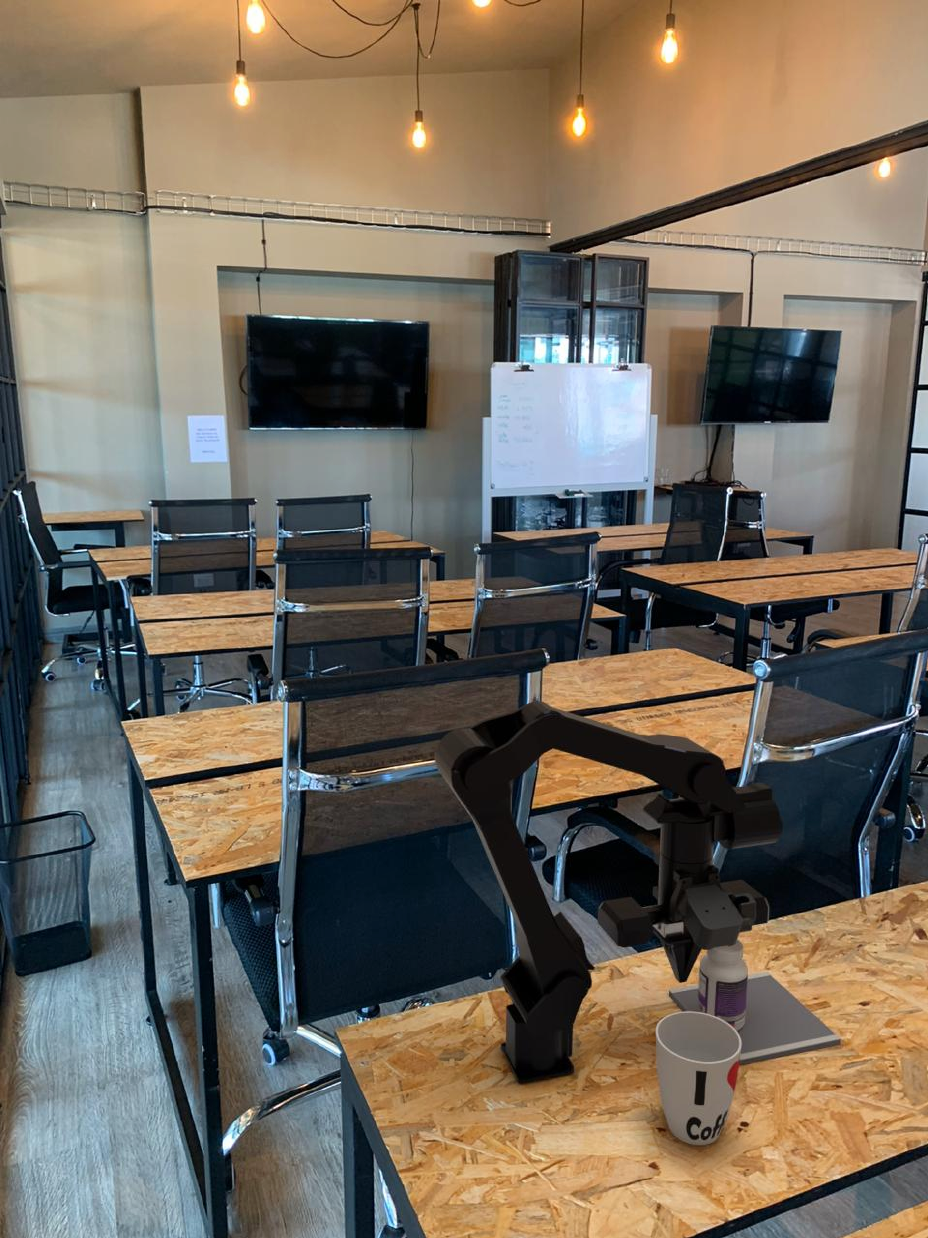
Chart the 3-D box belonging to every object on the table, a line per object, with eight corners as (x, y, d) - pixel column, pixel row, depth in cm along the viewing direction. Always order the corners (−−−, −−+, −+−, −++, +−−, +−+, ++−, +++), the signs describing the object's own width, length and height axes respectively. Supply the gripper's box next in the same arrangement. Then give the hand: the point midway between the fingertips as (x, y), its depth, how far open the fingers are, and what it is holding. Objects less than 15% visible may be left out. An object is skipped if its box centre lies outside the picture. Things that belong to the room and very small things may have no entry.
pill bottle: (752, 1018, 108) (757, 942, 106) (732, 1040, 104) (737, 962, 102) (709, 1000, 112) (713, 926, 110) (688, 1021, 108) (692, 945, 106)
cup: (684, 1167, 87) (689, 1072, 85) (635, 1111, 94) (639, 1023, 92) (753, 1142, 90) (759, 1050, 88) (701, 1089, 97) (705, 1003, 95)
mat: (731, 1067, 101) (732, 1061, 101) (668, 994, 114) (668, 989, 114) (840, 1044, 105) (841, 1038, 104) (767, 976, 118) (767, 971, 118)
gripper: (644, 898, 92) (639, 1039, 95) (804, 873, 97) (795, 1007, 100) (597, 852, 103) (594, 979, 106) (744, 831, 108) (737, 953, 111)
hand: (680, 980), depth 105 cm, fingers closed
